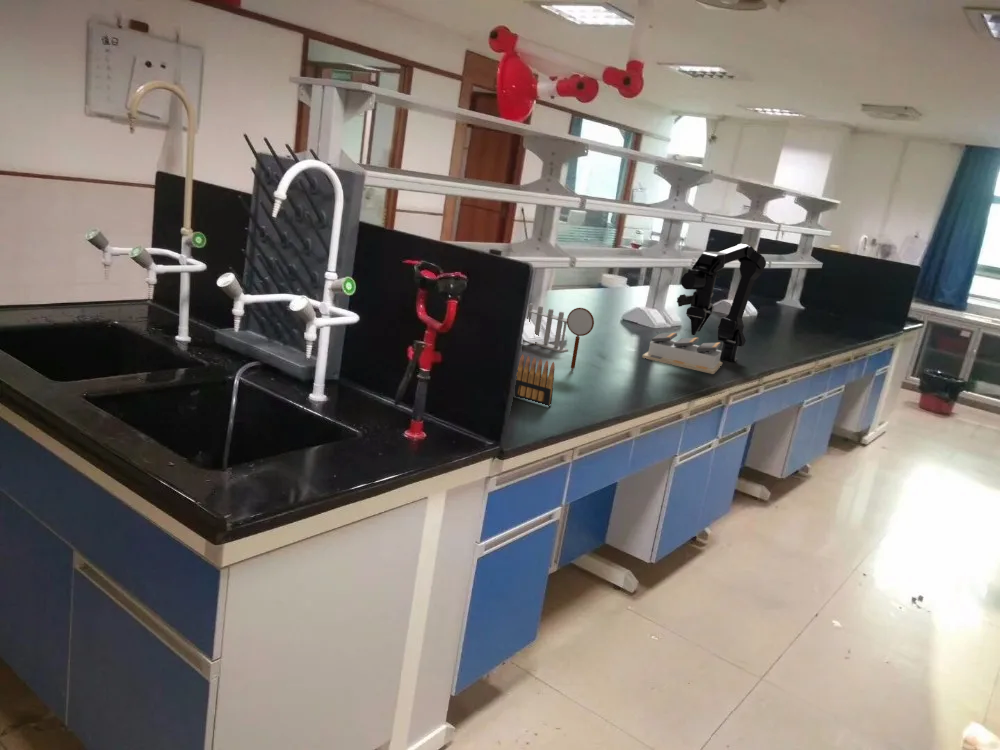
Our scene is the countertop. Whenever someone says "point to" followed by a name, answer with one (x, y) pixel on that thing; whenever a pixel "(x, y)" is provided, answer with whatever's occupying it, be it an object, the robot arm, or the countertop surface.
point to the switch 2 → (709, 346)
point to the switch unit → (684, 356)
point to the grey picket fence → (549, 328)
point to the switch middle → (686, 342)
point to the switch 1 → (664, 337)
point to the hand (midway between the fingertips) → (695, 333)
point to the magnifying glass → (579, 327)
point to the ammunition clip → (534, 381)
